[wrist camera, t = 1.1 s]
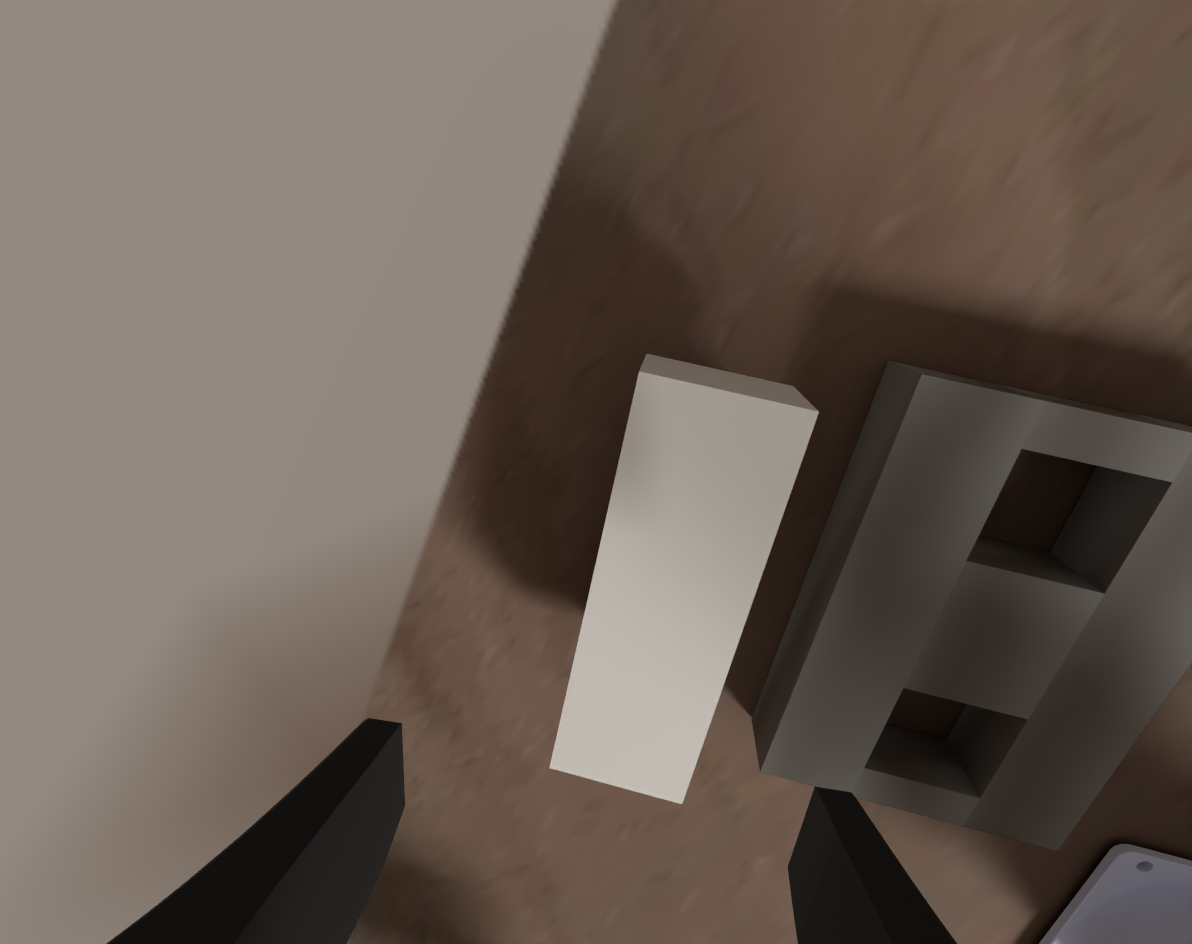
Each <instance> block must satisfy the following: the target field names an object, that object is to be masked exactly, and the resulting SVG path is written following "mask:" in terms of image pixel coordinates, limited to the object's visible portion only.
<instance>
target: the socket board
mask: <svg viewBox="0 0 1192 944" xmlns="http://www.w3.org/2000/svg"><path fill="white" fill-rule="evenodd" d="M1021 449H1025V450H1029V451H1034V452H1038V453H1043V454H1047V455H1052V456H1056V457H1061V458H1065V459H1070V460H1074V461H1079V462H1083V463H1088V464H1092V465H1097V467H1096V469H1095V471H1094V472H1093V474H1092V476H1091V478H1090V480H1089V482H1088V483H1087V485H1086V487H1085V489H1084V491H1083V492H1082V494H1081V496H1080V498H1079V500H1078V502H1077V503H1076V505H1075V507H1074V509H1073V511H1072V512H1071V514H1070V516H1069V518H1068V520H1067V522H1066V523H1065V525H1064V527H1063V529H1062V531H1061V532H1060V534H1059V536H1058V538H1057V540H1056V541H1055V543H1054V545H1053V547H1052V549H1051V551H1050V552H1047V551H1043V550H1038V549H1034V548H1030V547H1026V546H1021V545H1017V544H1013V543H1008V542H1004V541H1000V540H996V539H991V538H987V537H983V536H979V534H980V532H981V530H982V528H983V526H984V524H985V522H986V520H987V518H988V516H989V514H990V512H991V510H992V508H993V506H994V504H995V502H996V500H997V498H998V496H999V494H1000V492H1001V490H1002V488H1003V486H1004V484H1005V482H1006V479H1007V477H1008V475H1009V473H1010V471H1011V469H1012V467H1013V465H1014V463H1015V461H1016V459H1017V457H1018V455H1019V453H1020V451H1021ZM1191 663H1192V426H1190V425H1185V424H1180V423H1176V422H1171V421H1166V420H1162V419H1157V418H1153V417H1148V416H1143V415H1139V414H1134V413H1130V412H1125V411H1120V410H1116V409H1111V408H1106V407H1102V406H1097V405H1093V404H1088V403H1083V402H1079V401H1074V400H1070V399H1065V398H1060V397H1056V396H1051V395H1046V394H1042V393H1037V392H1033V391H1028V390H1023V389H1019V388H1014V387H1010V386H1005V385H1000V384H996V383H991V382H986V381H982V380H977V379H973V378H968V377H963V376H959V375H954V374H950V373H945V372H940V371H936V370H931V369H926V368H922V367H917V366H913V365H908V364H903V363H899V362H894V361H890V360H888V362H887V365H886V367H885V370H884V372H883V375H882V378H881V380H880V383H879V386H878V388H877V391H876V393H875V396H874V399H873V401H872V404H871V407H870V409H869V412H868V414H867V417H866V420H865V422H864V425H863V427H862V430H861V433H860V435H859V438H858V441H857V443H856V446H855V448H854V451H853V454H852V456H851V459H850V462H849V464H848V467H847V469H846V472H845V475H844V477H843V480H842V482H841V485H840V488H839V490H838V493H837V496H836V498H835V501H834V503H833V506H832V509H831V511H830V514H829V517H828V519H827V522H826V524H825V527H824V530H823V532H822V535H821V537H820V540H819V543H818V545H817V548H816V551H815V553H814V556H813V558H812V561H811V564H810V566H809V569H808V572H807V574H806V577H805V579H804V582H803V585H802V587H801V590H800V592H799V595H798V598H797V600H796V603H795V606H794V608H793V611H792V613H791V616H790V619H789V621H788V624H787V627H786V629H785V632H784V634H783V637H782V640H781V642H780V645H779V647H778V650H777V653H776V655H775V658H774V661H773V663H772V666H771V668H770V671H769V674H768V676H767V679H766V682H765V684H764V687H763V689H762V692H761V695H760V697H759V700H758V702H757V705H756V708H755V710H754V713H753V716H752V724H753V731H754V737H755V743H756V749H757V756H758V762H759V768H760V772H763V773H766V774H770V775H774V776H778V777H781V778H785V779H789V780H793V781H796V782H800V783H804V784H808V785H811V786H815V787H821V788H827V789H834V790H840V791H847V792H852V794H853V795H854V796H855V797H856V798H860V799H864V800H868V801H871V802H875V803H879V804H883V805H886V806H890V807H894V808H898V809H901V810H905V811H909V812H913V813H916V814H920V815H924V816H928V817H931V818H935V819H939V820H943V821H946V822H950V823H954V824H957V825H961V826H965V827H969V828H972V829H976V830H980V831H984V832H987V833H991V834H995V835H999V836H1002V837H1006V838H1010V839H1014V840H1017V841H1021V842H1025V843H1029V844H1032V845H1036V846H1040V847H1044V848H1047V849H1051V850H1055V851H1058V850H1059V849H1060V847H1061V846H1062V844H1063V843H1064V842H1065V840H1066V839H1067V837H1068V836H1069V835H1070V833H1071V832H1072V830H1073V829H1074V827H1075V826H1076V825H1077V823H1078V822H1079V820H1080V819H1081V818H1082V816H1083V815H1084V813H1085V812H1086V811H1087V809H1088V808H1089V806H1090V805H1091V804H1092V802H1093V801H1094V799H1095V798H1096V796H1097V795H1098V794H1099V792H1100V791H1101V789H1102V788H1103V787H1104V785H1105V784H1106V782H1107V781H1108V780H1109V778H1110V777H1111V775H1112V774H1113V773H1114V771H1115V770H1116V768H1117V767H1118V765H1119V764H1120V763H1121V761H1122V760H1123V758H1124V757H1125V756H1126V754H1127V753H1128V751H1129V750H1130V749H1131V747H1132V746H1133V744H1134V743H1135V742H1136V740H1137V739H1138V737H1139V736H1140V734H1141V733H1142V732H1143V730H1144V729H1145V727H1146V726H1147V725H1148V723H1149V722H1150V720H1151V719H1152V718H1153V716H1154V715H1155V713H1156V712H1157V710H1158V709H1159V708H1160V706H1161V705H1162V703H1163V702H1164V701H1165V699H1166V698H1167V696H1168V695H1169V694H1170V692H1171V691H1172V689H1173V688H1174V687H1175V685H1176V684H1177V682H1178V681H1179V679H1180V678H1181V677H1182V675H1183V674H1184V672H1185V671H1186V670H1187V668H1188V667H1189V665H1190V664H1191ZM903 688H905V689H909V690H913V691H917V692H921V693H925V694H929V695H933V696H937V697H941V698H945V699H949V700H953V701H957V702H961V703H965V704H966V705H965V707H964V708H963V710H962V712H961V714H960V716H959V718H958V719H957V721H956V723H955V725H954V727H953V728H952V730H951V732H950V734H949V736H948V738H947V739H942V738H938V737H934V736H930V735H927V734H923V733H919V732H915V731H911V730H907V729H903V728H899V727H895V726H892V725H888V724H886V722H887V720H888V718H889V716H890V714H891V712H892V710H893V708H894V706H895V704H896V702H897V700H898V698H899V696H900V694H901V692H902V690H903Z"/></svg>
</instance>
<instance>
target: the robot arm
mask: <svg viewBox="0 0 1192 944" xmlns="http://www.w3.org/2000/svg"><path fill="white" fill-rule="evenodd" d="M404 807H405V794H404V769H403V744H402V723H397V722H390V721H384V720H377V719H370V718H368V719H366V720H365V721H363V722H362V723H361V724H360V725H359V726H358V727H357V728H356V729H355V730H354V731H353V732H352V733H351V734H350V735H349V736H348V737H347V738H346V739H345V740H344V741H343V742H342V743H341V744H340V745H339V746H337V747H336V748H335V749H334V751H332V752H331V753H330V754H329V755H328V756H327V757H326V758H325V759H324V760H323V761H322V762H321V763H320V764H319V765H318V766H317V767H316V768H315V769H314V770H313V771H311V772H310V773H309V774H308V775H307V776H306V777H305V778H304V779H303V780H302V781H301V782H300V783H299V784H298V785H297V786H295V787H294V789H292V790H291V791H290V792H289V793H288V794H287V795H286V796H284V797H283V798H282V799H281V800H280V801H279V802H278V803H277V804H276V805H275V806H273V807H272V808H271V809H270V810H269V811H268V812H267V813H266V814H265V815H264V816H263V817H261V818H260V819H259V820H258V821H257V822H256V823H255V824H254V825H252V826H251V827H250V828H249V829H248V830H247V831H246V832H245V833H243V834H242V835H241V836H240V837H239V838H238V839H236V840H235V841H234V842H233V843H232V844H231V845H229V846H228V847H227V848H226V849H225V850H223V851H222V852H221V853H220V854H219V855H217V856H216V857H215V858H214V859H213V860H211V861H210V862H209V863H208V864H207V865H206V866H204V867H203V868H202V869H201V870H200V871H198V873H196V874H195V875H194V876H192V877H191V878H190V879H189V880H188V881H187V882H186V883H184V884H183V885H182V886H180V887H179V888H178V889H177V890H175V891H174V892H173V893H172V894H170V895H169V896H168V897H167V898H165V899H164V900H163V901H162V902H160V903H159V904H158V905H157V906H155V907H154V908H153V909H151V910H150V911H149V912H148V913H146V914H145V915H144V916H142V917H141V918H140V919H139V920H137V921H136V922H135V923H133V924H132V925H131V926H130V927H128V928H127V929H125V930H124V931H123V932H121V933H120V934H119V935H117V936H116V937H115V938H113V939H112V940H111V941H110V942H108V943H107V944H347V942H348V940H349V937H350V935H351V933H352V931H353V929H354V927H355V925H356V923H357V921H358V919H359V917H360V915H361V912H362V910H363V908H364V906H365V904H366V902H367V900H368V898H369V896H370V893H371V891H372V889H373V887H374V885H375V883H376V881H377V879H378V876H379V874H380V872H381V870H382V867H383V865H384V862H385V859H386V857H387V854H388V851H389V849H390V846H391V843H392V841H393V838H394V835H395V832H396V829H397V827H398V824H399V821H400V818H401V815H402V813H403V810H404ZM788 873H789V881H790V889H791V897H792V905H793V912H794V919H795V926H796V933H797V939H798V944H957V943H956V942H955V940H954V939H953V937H952V936H951V935H950V933H949V932H948V930H947V929H946V928H945V926H944V925H943V924H942V922H941V921H940V919H939V918H938V917H937V915H936V914H935V913H934V911H933V910H932V908H931V907H930V906H929V904H928V903H927V901H926V900H925V898H924V897H923V896H922V894H921V893H920V891H919V890H918V888H917V887H916V886H915V884H914V883H913V881H912V880H911V878H910V877H909V875H908V874H907V872H906V871H905V870H904V868H903V867H902V865H901V864H900V862H899V861H898V859H897V858H896V856H895V855H894V854H893V852H892V851H891V849H890V848H889V846H888V845H887V843H886V842H885V840H884V839H883V837H882V836H881V834H880V833H879V831H878V830H877V828H876V827H875V825H874V824H873V822H872V821H871V820H870V818H869V817H868V815H867V814H866V812H865V811H864V809H863V808H862V806H861V805H860V803H859V802H858V800H857V799H856V798H855V796H854V795H853V794H852V792H847V791H840V790H834V789H827V788H821V787H815V788H814V791H813V794H812V797H811V800H810V803H809V806H808V809H807V812H806V815H805V818H804V821H803V824H802V827H801V830H800V832H799V835H798V838H797V841H796V844H795V847H794V850H793V853H792V856H791V859H790V862H789V865H788ZM1039 944H1192V861H1191V860H1187V859H1183V858H1180V857H1176V856H1172V855H1168V854H1164V853H1161V852H1157V851H1153V850H1149V849H1146V848H1142V847H1138V846H1134V845H1130V844H1118V845H1116V846H1113V847H1112V848H1111V849H1110V850H1109V852H1108V853H1107V854H1106V856H1105V857H1104V858H1103V860H1102V861H1101V862H1100V864H1099V865H1098V866H1097V868H1096V869H1095V870H1094V871H1093V873H1092V874H1091V875H1090V877H1089V878H1088V879H1087V881H1086V882H1085V883H1084V885H1083V886H1082V887H1081V889H1080V890H1079V891H1078V893H1077V894H1076V895H1075V897H1074V898H1073V899H1072V901H1071V902H1070V903H1069V905H1068V906H1067V907H1066V909H1065V910H1064V911H1063V912H1062V914H1061V915H1060V916H1059V918H1058V919H1057V920H1056V922H1055V923H1054V924H1053V926H1052V927H1051V928H1050V930H1049V931H1048V932H1047V934H1046V935H1045V936H1044V938H1043V939H1042V940H1041V942H1040V943H1039Z"/></svg>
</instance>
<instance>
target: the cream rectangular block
mask: <svg viewBox="0 0 1192 944" xmlns="http://www.w3.org/2000/svg"><path fill="white" fill-rule="evenodd" d="M818 414H819V411H818V410H817V409H816V408H815V407H814V406H813V405H812V404H811V403H810V402H809V401H808V400H807V399H806V398H805V397H804V396H803V395H802V394H801V393H800V392H799V391H798V390H797V389H796V388H795V387H794V386H791V385H786V384H782V383H777V382H773V381H768V380H764V379H759V378H755V377H750V376H746V375H741V374H737V373H732V372H728V371H723V370H719V369H714V368H710V367H705V366H701V365H696V364H692V363H687V362H683V361H678V360H674V359H669V358H665V357H660V356H656V355H651V354H646V356H645V358H644V361H643V363H642V366H641V368H640V370H639V374H638V378H637V383H636V387H635V392H634V396H633V400H632V405H631V409H630V414H629V418H628V423H627V427H626V431H625V436H624V440H623V445H622V449H621V454H620V458H619V462H618V467H617V471H616V476H615V480H614V485H613V489H612V493H611V498H610V502H609V507H608V511H607V516H606V520H605V524H604V529H603V533H602V538H601V542H600V547H599V551H598V555H597V560H596V564H595V569H594V573H593V578H592V582H591V586H590V591H589V595H588V600H587V604H586V609H585V613H584V618H583V622H582V626H581V631H580V635H579V640H578V644H577V649H576V653H575V657H574V662H573V666H572V671H571V675H570V680H569V684H568V688H567V693H566V697H565V702H564V706H563V711H562V715H561V719H560V724H559V728H558V733H557V737H556V742H555V746H554V750H553V755H552V759H551V764H550V768H551V769H555V770H559V771H562V772H566V773H570V774H573V775H577V776H581V777H584V778H588V779H592V780H595V781H599V782H603V783H606V784H610V785H614V786H617V787H621V788H625V789H628V790H632V791H636V792H639V793H643V794H647V795H650V796H654V797H658V798H661V799H665V800H668V801H672V802H676V803H679V804H682V803H683V800H684V797H685V794H686V791H687V788H688V786H689V783H690V780H691V777H692V774H693V771H694V768H695V766H696V763H697V760H698V757H699V754H700V751H701V748H702V746H703V743H704V740H705V737H706V734H707V731H708V728H709V726H710V723H711V720H712V717H713V714H714V711H715V708H716V706H717V703H718V700H719V697H720V694H721V691H722V688H723V685H724V683H725V680H726V677H727V674H728V671H729V668H730V665H731V663H732V660H733V657H734V654H735V651H736V648H737V645H738V643H739V640H740V637H741V634H742V631H743V628H744V625H745V623H746V620H747V617H748V614H749V611H750V608H751V605H752V603H753V600H754V597H755V594H756V591H757V588H758V585H759V582H760V580H761V577H762V574H763V571H764V568H765V565H766V562H767V560H768V557H769V554H770V551H771V548H772V545H773V542H774V540H775V537H776V534H777V531H778V528H779V525H780V522H781V520H782V517H783V514H784V511H785V508H786V505H787V502H788V500H789V497H790V494H791V491H792V488H793V485H794V482H795V479H796V477H797V474H798V471H799V468H800V465H801V462H802V459H803V457H804V454H805V451H806V448H807V445H808V442H809V439H810V437H811V434H812V431H813V428H814V425H815V422H816V419H817V417H818Z"/></svg>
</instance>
